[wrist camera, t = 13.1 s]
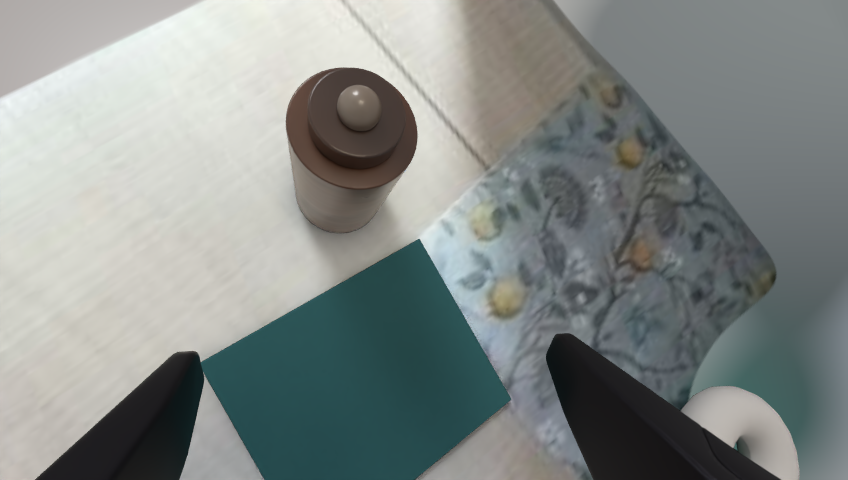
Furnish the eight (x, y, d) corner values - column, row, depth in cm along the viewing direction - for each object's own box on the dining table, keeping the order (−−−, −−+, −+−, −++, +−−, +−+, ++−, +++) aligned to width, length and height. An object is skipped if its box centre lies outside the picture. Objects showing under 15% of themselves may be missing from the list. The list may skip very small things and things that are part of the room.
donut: (772, 442, 30) (700, 353, 29) (829, 459, 27) (749, 360, 26) (720, 554, 27) (637, 458, 26) (777, 590, 23) (684, 481, 23)
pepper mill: (339, 250, 22) (363, 200, 12) (276, 189, 22) (244, 82, 11) (396, 195, 24) (462, 108, 14) (339, 137, 24) (361, 2, 13)
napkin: (312, 560, 19) (312, 564, 19) (200, 362, 19) (198, 363, 19) (509, 398, 24) (511, 399, 24) (418, 239, 24) (419, 238, 24)
